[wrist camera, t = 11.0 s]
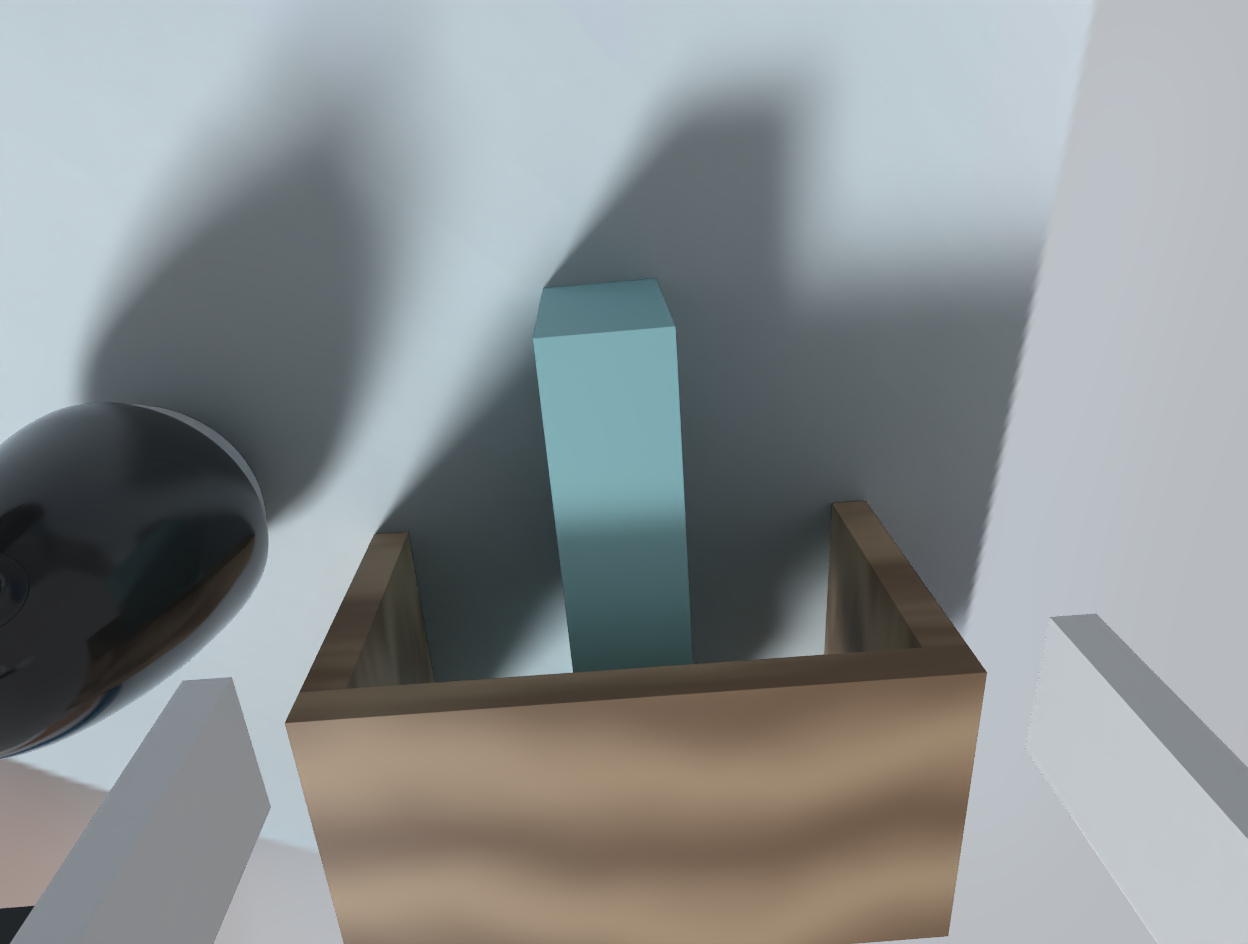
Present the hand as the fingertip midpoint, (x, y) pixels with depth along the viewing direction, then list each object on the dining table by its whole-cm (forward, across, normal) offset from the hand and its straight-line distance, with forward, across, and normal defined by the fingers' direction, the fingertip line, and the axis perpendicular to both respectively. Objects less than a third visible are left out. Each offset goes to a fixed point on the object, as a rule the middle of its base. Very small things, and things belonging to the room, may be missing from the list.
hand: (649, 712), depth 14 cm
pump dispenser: (+23, -19, -5) cm, 30 cm away
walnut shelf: (+23, 0, -14) cm, 27 cm away
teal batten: (+23, 0, -9) cm, 25 cm away
